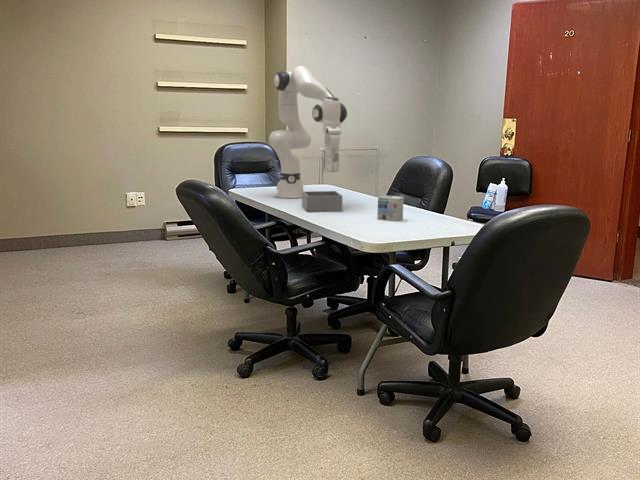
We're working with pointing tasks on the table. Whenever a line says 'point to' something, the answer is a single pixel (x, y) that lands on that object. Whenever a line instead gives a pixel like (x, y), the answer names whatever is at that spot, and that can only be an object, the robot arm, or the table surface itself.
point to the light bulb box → (390, 208)
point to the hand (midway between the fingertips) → (331, 157)
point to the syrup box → (330, 159)
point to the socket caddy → (322, 201)
